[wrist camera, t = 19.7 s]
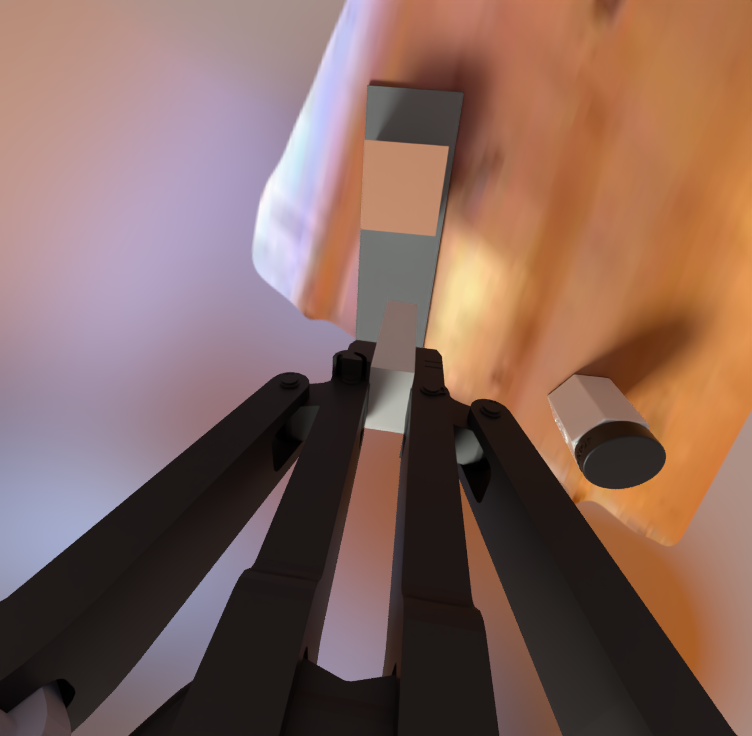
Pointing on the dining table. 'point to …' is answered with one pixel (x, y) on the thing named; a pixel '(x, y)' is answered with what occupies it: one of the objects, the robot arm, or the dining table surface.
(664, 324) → the dining table surface
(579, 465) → the jar
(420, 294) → the mat
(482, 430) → the robot arm
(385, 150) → the block
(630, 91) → the dining table surface
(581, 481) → the dining table surface
